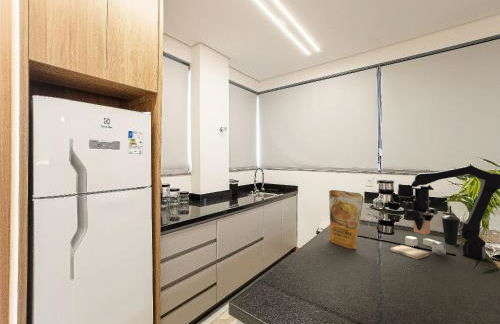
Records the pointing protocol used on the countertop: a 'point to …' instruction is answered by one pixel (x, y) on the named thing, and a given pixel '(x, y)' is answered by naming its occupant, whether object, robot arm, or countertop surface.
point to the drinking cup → (450, 228)
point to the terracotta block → (423, 227)
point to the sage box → (427, 242)
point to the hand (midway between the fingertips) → (421, 229)
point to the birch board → (409, 251)
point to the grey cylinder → (438, 248)
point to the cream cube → (411, 241)
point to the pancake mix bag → (344, 217)
